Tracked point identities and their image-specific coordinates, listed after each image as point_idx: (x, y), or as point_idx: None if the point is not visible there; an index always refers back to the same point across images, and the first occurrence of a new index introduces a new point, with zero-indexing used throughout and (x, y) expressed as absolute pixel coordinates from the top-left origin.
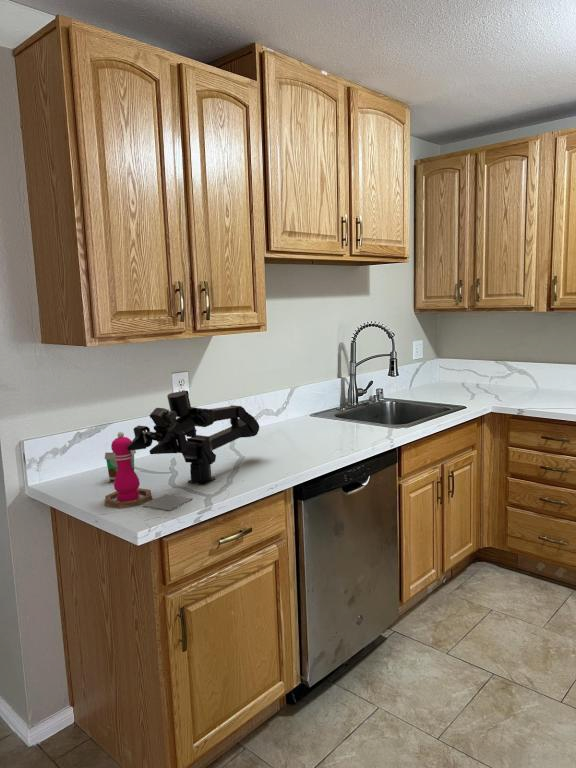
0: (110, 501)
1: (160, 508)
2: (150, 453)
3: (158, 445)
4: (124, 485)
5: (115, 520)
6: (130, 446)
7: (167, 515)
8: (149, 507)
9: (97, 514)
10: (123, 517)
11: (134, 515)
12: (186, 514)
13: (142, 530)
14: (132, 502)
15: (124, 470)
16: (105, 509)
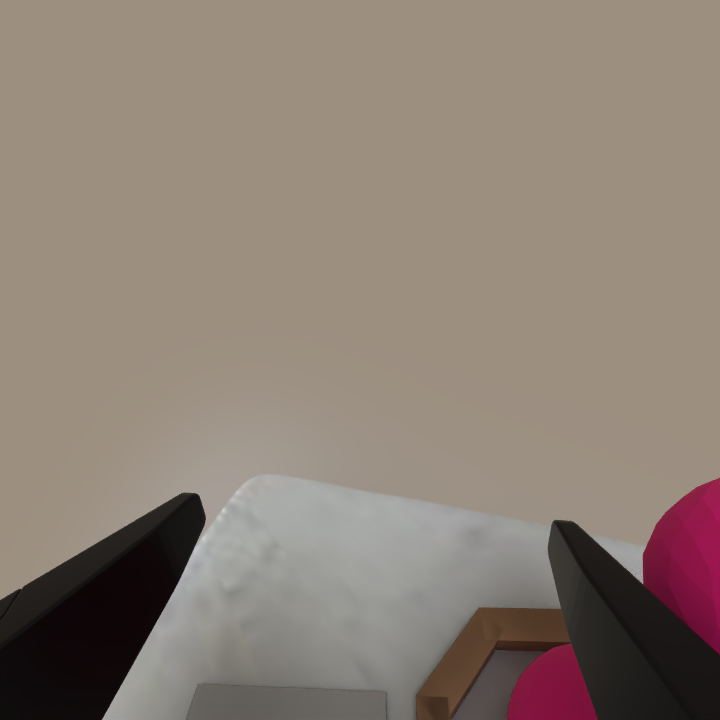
0: (561, 625)
1: (260, 687)
2: (198, 513)
3: (64, 563)
4: (533, 661)
5: (380, 506)
6: (569, 563)
7: (200, 627)
8: (336, 691)
9: (493, 523)
10: (373, 537)
11: (345, 570)
12: None
13: (246, 482)
14: (439, 664)
15: None
16: (523, 579)
